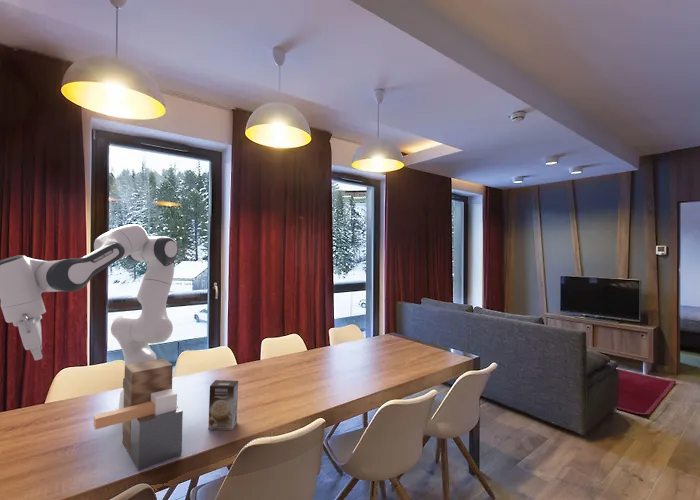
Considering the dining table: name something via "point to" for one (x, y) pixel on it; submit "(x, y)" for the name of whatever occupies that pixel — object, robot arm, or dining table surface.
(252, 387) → the dining table surface
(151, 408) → the wooden handled mallet
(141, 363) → the tall wood-grain pillar
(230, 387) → the coffee box
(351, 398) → the dining table surface
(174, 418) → the block
